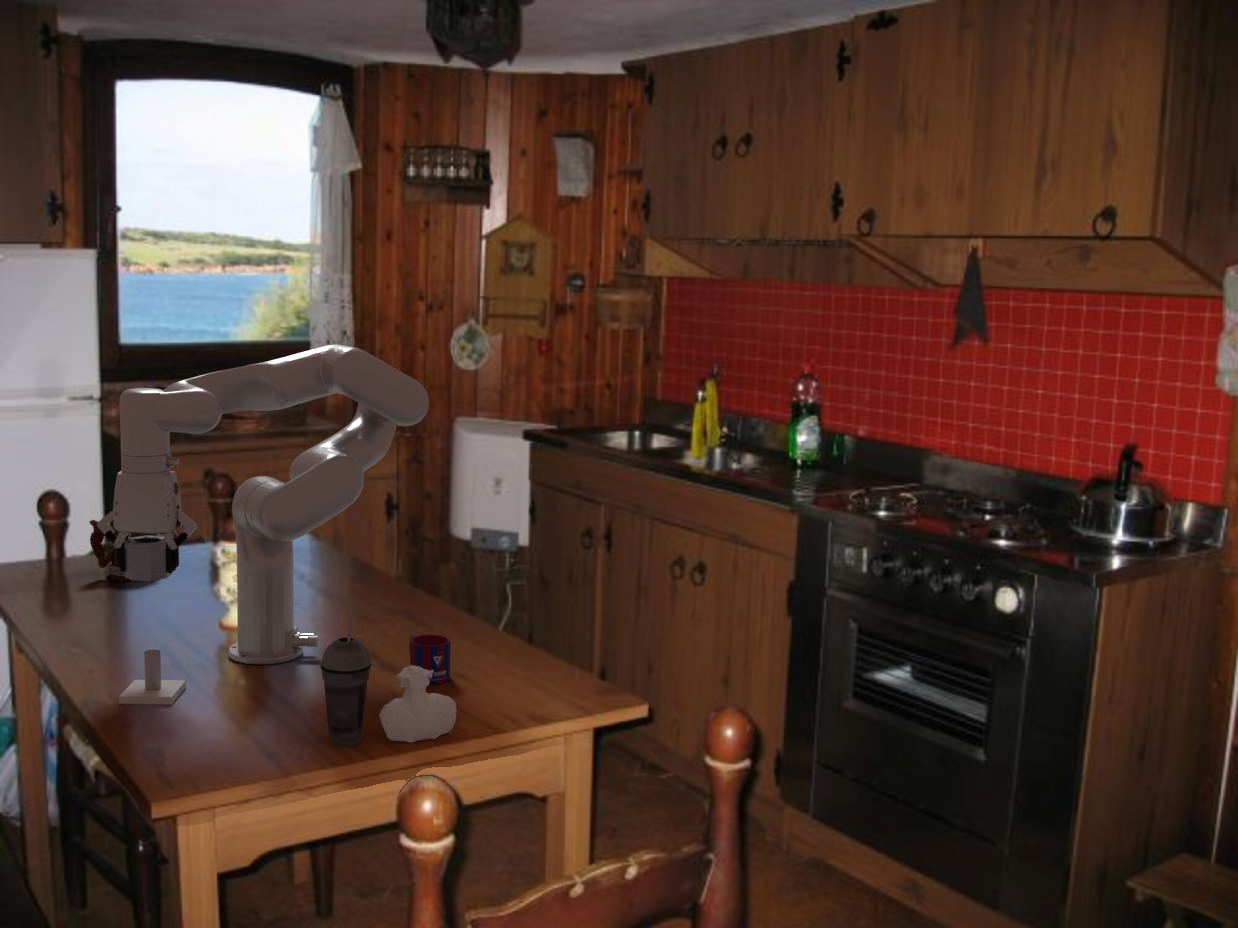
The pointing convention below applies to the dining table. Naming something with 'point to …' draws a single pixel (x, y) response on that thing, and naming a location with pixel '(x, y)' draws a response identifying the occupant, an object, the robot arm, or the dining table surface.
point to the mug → (111, 556)
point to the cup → (431, 655)
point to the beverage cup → (345, 688)
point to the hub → (145, 558)
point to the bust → (417, 709)
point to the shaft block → (152, 685)
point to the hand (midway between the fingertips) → (148, 569)
